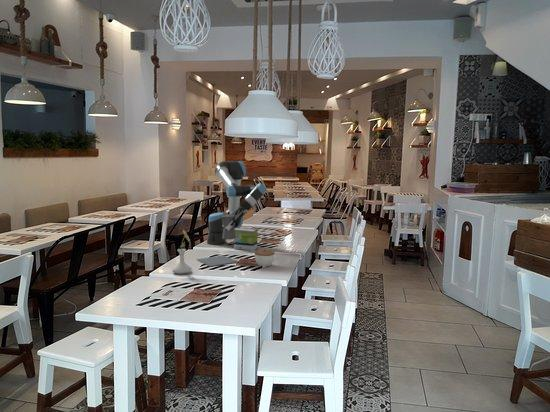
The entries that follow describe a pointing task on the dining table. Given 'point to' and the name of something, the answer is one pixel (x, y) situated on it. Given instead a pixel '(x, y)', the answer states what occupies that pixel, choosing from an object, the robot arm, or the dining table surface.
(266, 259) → the lidded bowl
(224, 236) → the coffeepot
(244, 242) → the tea box
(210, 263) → the mat
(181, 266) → the flower in vase
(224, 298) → the dining table surface
